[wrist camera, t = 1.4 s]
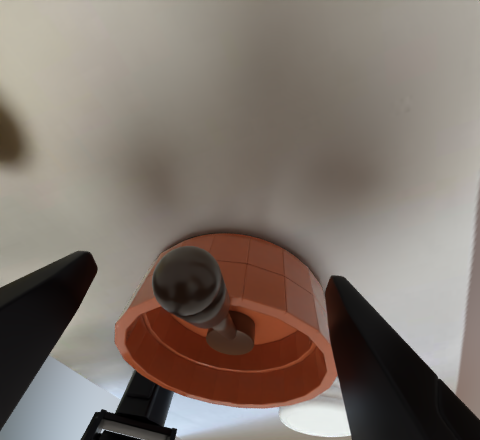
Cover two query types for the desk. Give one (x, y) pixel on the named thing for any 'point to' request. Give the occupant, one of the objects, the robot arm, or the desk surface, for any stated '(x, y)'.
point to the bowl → (266, 331)
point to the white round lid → (319, 414)
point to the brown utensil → (202, 299)
